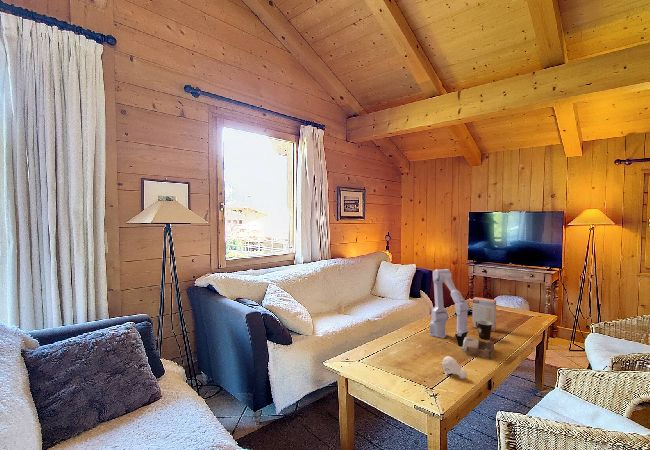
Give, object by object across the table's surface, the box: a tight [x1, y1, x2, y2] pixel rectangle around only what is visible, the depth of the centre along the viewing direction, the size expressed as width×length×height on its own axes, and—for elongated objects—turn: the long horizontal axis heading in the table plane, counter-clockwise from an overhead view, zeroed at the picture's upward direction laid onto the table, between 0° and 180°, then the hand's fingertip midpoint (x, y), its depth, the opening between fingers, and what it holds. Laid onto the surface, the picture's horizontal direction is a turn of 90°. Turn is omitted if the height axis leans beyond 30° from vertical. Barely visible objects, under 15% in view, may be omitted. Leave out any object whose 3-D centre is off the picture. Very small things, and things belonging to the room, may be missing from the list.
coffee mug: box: [476, 321, 492, 341], centre depth 216 cm, size 12×9×10 cm
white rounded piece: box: [441, 355, 468, 380], centre depth 166 cm, size 6×8×12 cm
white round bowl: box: [461, 336, 480, 353], centre depth 196 cm, size 9×9×6 cm
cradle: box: [465, 339, 495, 360], centre depth 193 cm, size 13×15×5 cm
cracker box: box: [471, 296, 497, 333], centre depth 231 cm, size 14×6×21 cm, turn 49°
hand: (461, 344), depth 199 cm, fingers open, 7 cm apart
